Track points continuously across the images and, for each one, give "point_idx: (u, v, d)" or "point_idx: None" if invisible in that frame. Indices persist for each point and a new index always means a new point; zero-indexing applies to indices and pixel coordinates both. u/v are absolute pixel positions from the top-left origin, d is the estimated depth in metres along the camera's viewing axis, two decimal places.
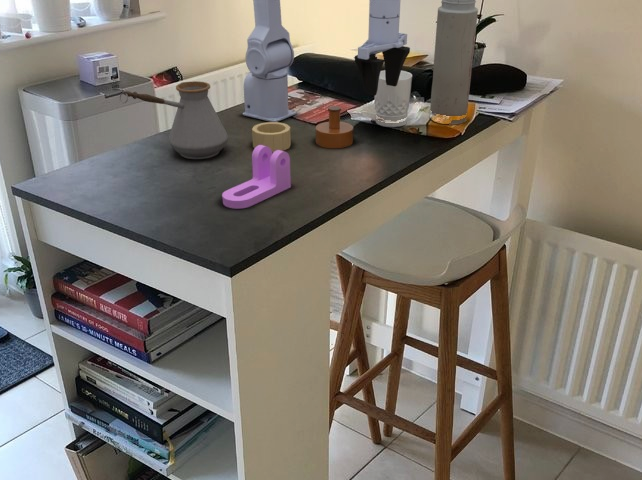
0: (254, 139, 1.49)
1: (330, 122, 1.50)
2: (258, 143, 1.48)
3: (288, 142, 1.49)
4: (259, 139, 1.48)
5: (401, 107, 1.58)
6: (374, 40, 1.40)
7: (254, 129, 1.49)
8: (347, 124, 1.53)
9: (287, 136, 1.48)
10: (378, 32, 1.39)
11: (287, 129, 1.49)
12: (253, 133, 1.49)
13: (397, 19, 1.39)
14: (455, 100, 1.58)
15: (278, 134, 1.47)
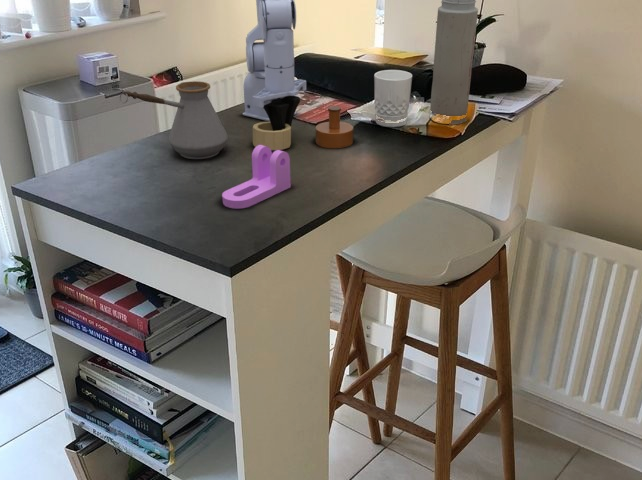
0: (254, 137, 1.49)
1: (330, 122, 1.50)
2: (258, 141, 1.48)
3: (288, 141, 1.49)
4: (259, 137, 1.48)
5: (401, 107, 1.58)
6: (270, 88, 1.45)
7: (255, 127, 1.49)
8: (347, 124, 1.53)
9: (288, 135, 1.48)
10: (273, 81, 1.44)
11: (288, 128, 1.49)
12: (254, 131, 1.49)
13: (291, 69, 1.44)
14: (455, 100, 1.58)
15: (279, 132, 1.47)
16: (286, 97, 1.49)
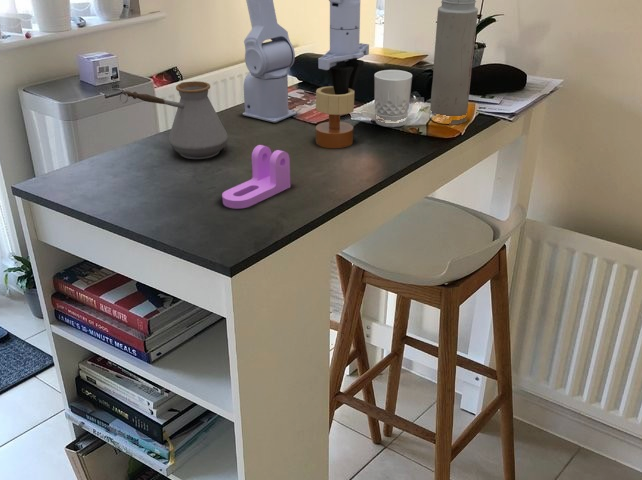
0: (318, 101, 1.47)
1: (330, 122, 1.50)
2: (322, 105, 1.46)
3: (352, 105, 1.47)
4: (323, 101, 1.46)
5: (401, 107, 1.58)
6: (335, 51, 1.43)
7: (318, 91, 1.47)
8: (347, 124, 1.53)
9: (352, 99, 1.46)
10: (338, 43, 1.42)
11: (352, 92, 1.47)
12: (317, 95, 1.47)
13: (357, 30, 1.42)
14: (455, 100, 1.58)
15: (343, 96, 1.45)
16: (350, 60, 1.47)
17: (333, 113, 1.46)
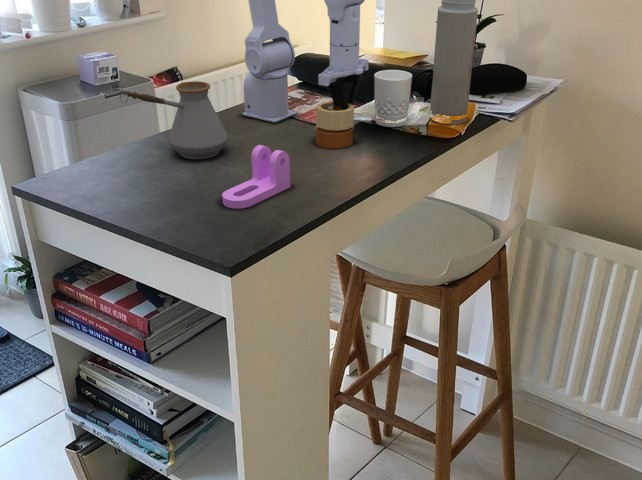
0: (318, 117, 1.49)
1: None
2: (322, 121, 1.48)
3: (352, 121, 1.49)
4: (323, 117, 1.47)
5: (401, 107, 1.58)
6: (335, 67, 1.45)
7: (318, 107, 1.48)
8: None
9: (351, 115, 1.48)
10: (338, 60, 1.44)
11: (351, 108, 1.48)
12: (317, 111, 1.48)
13: (356, 47, 1.44)
14: (455, 100, 1.58)
15: (343, 112, 1.46)
16: (349, 76, 1.49)
17: (333, 129, 1.48)
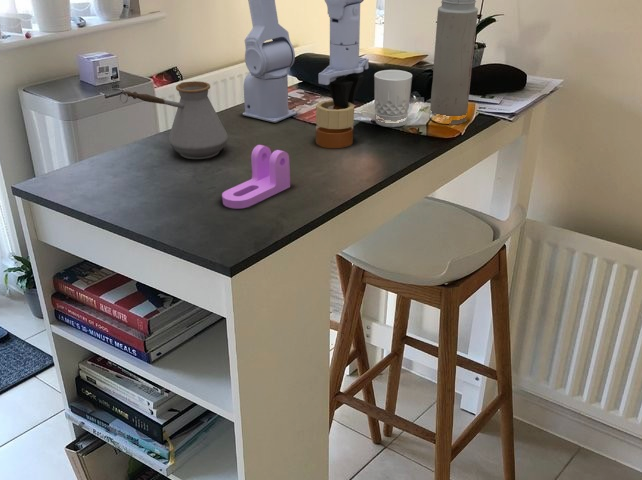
0: (318, 116, 1.48)
1: None
2: (322, 120, 1.48)
3: (352, 120, 1.49)
4: (323, 116, 1.47)
5: (401, 107, 1.58)
6: (335, 66, 1.45)
7: (318, 106, 1.48)
8: None
9: (351, 113, 1.48)
10: (338, 59, 1.44)
11: (351, 106, 1.48)
12: (317, 110, 1.48)
13: (357, 46, 1.43)
14: (455, 100, 1.58)
15: (343, 111, 1.46)
16: (350, 75, 1.48)
17: (333, 128, 1.48)
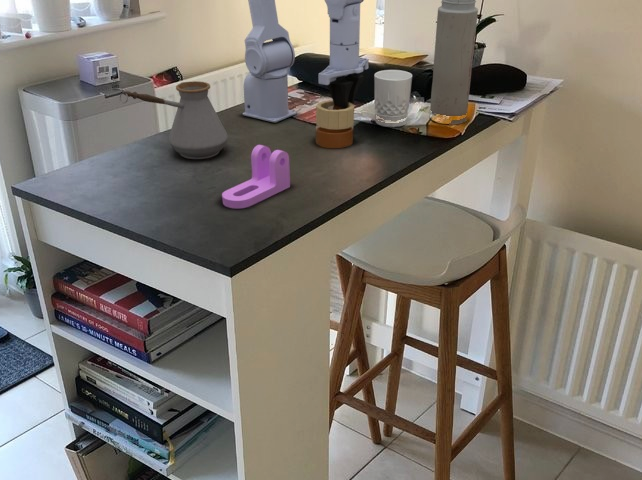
0: (318, 116, 1.49)
1: None
2: (322, 120, 1.48)
3: (352, 120, 1.49)
4: (323, 116, 1.47)
5: (401, 107, 1.58)
6: (335, 66, 1.45)
7: (318, 106, 1.48)
8: None
9: (351, 114, 1.48)
10: (338, 59, 1.44)
11: (351, 107, 1.48)
12: (317, 110, 1.48)
13: (357, 46, 1.43)
14: (455, 100, 1.58)
15: (343, 111, 1.46)
16: (350, 75, 1.48)
17: (333, 128, 1.48)
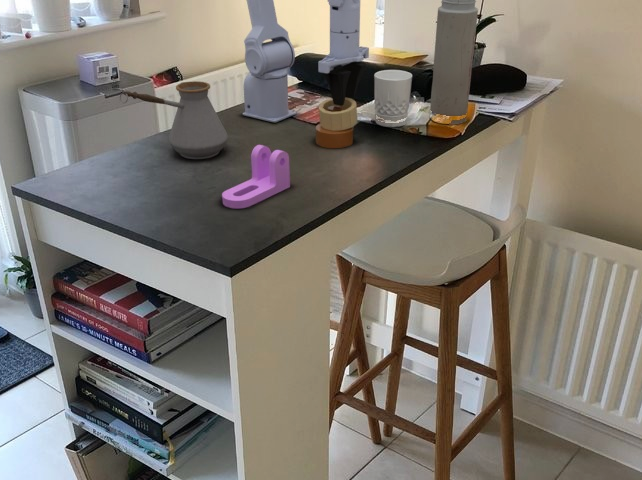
0: (321, 118, 1.50)
1: None
2: (326, 122, 1.49)
3: (355, 118, 1.50)
4: (326, 119, 1.48)
5: (401, 107, 1.58)
6: (335, 54, 1.44)
7: (320, 108, 1.49)
8: None
9: (354, 112, 1.49)
10: (338, 47, 1.43)
11: (353, 105, 1.49)
12: (320, 112, 1.49)
13: (357, 34, 1.42)
14: (455, 100, 1.58)
15: (345, 112, 1.47)
16: (352, 63, 1.48)
17: (337, 129, 1.49)
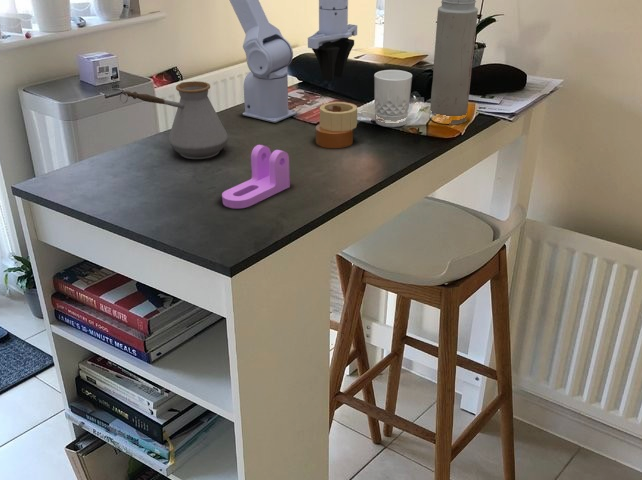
0: (321, 118, 1.50)
1: None
2: (326, 122, 1.49)
3: (355, 121, 1.50)
4: (327, 118, 1.49)
5: (401, 107, 1.58)
6: (324, 31, 1.48)
7: (322, 108, 1.50)
8: None
9: (355, 115, 1.49)
10: (327, 23, 1.47)
11: (354, 108, 1.49)
12: (321, 112, 1.49)
13: (345, 11, 1.47)
14: (455, 100, 1.58)
15: (346, 113, 1.48)
16: (341, 40, 1.52)
17: (337, 130, 1.49)
